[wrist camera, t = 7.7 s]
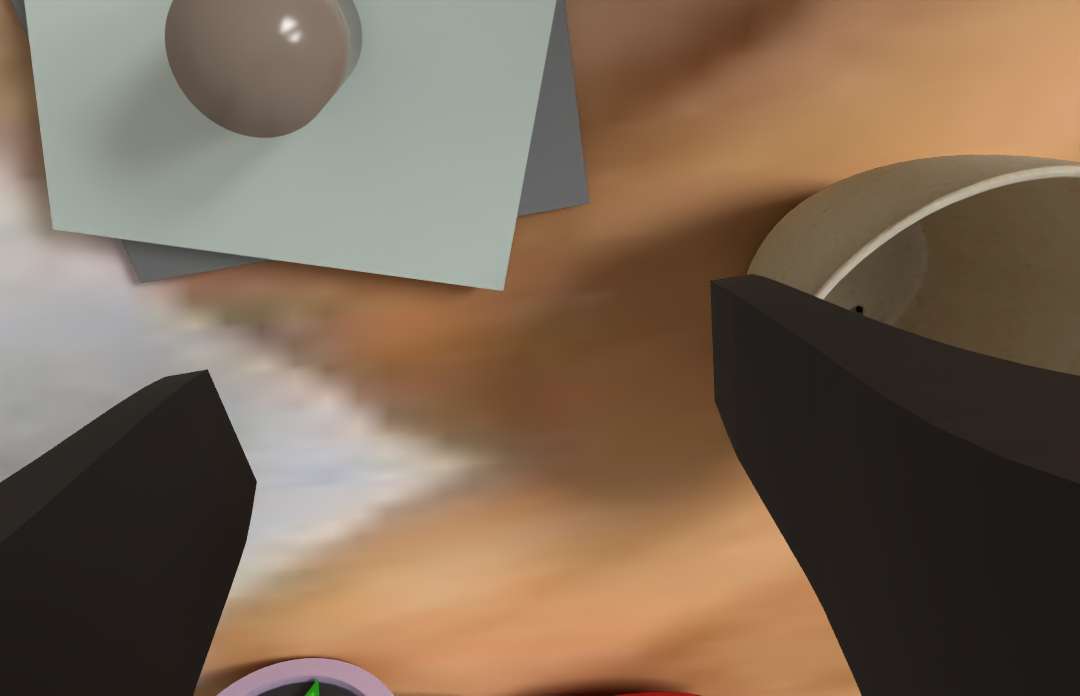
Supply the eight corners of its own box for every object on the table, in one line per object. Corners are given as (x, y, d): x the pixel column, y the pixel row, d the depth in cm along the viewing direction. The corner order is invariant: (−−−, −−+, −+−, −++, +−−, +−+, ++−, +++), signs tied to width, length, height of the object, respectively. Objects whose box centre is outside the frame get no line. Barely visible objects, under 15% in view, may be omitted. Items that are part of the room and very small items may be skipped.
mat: (520, -339, 14) (522, -346, 14) (587, 199, 20) (589, 203, 19) (-86, -234, 14) (-100, -239, 14) (146, 277, 20) (141, 283, 19)
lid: (589, -205, 15) (637, -260, 11) (501, 279, 20) (512, 366, 16) (3, -357, 13) (-207, -493, 9) (68, 218, 18) (-48, 300, 14)
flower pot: (790, 463, 25) (899, 636, 19) (598, 272, 21) (656, 413, 15) (1059, 268, 22) (1291, 396, 16) (900, 6, 18) (1127, 40, 12)
